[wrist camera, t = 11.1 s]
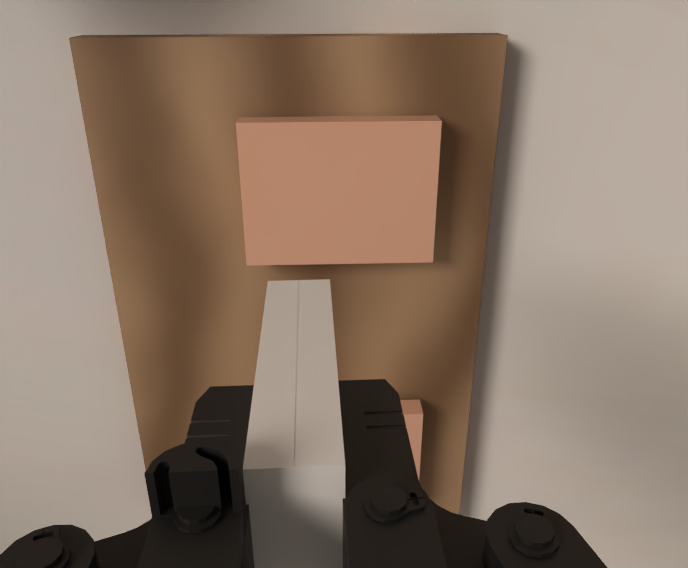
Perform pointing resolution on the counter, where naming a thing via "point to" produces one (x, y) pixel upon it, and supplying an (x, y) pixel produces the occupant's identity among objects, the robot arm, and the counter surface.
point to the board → (227, 217)
